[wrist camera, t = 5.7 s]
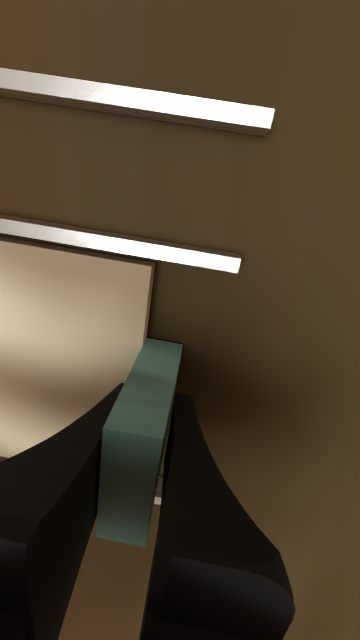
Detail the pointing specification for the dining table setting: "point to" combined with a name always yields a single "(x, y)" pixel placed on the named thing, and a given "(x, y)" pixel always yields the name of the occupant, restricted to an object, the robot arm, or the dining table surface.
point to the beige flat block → (86, 368)
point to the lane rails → (140, 106)
